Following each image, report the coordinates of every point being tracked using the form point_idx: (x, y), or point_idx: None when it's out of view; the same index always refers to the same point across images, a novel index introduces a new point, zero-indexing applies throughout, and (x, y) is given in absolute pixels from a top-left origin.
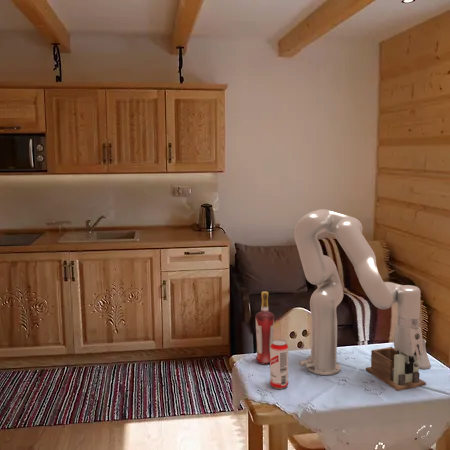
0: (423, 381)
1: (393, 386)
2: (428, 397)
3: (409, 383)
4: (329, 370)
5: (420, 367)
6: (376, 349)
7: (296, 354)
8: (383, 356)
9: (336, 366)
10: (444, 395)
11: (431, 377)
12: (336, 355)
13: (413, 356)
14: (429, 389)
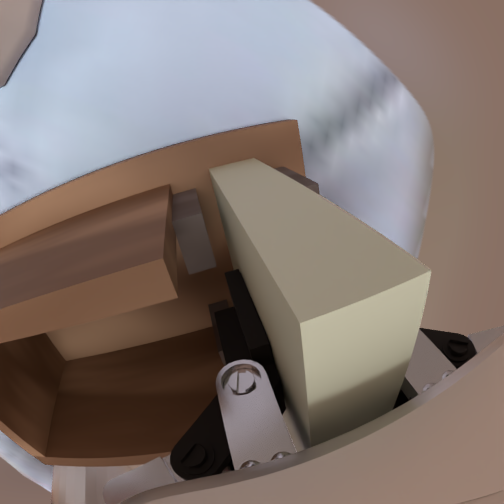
0: (278, 127)
1: None
2: (408, 195)
3: None
4: (131, 469)
5: (21, 45)
6: (18, 444)
7: (23, 464)
8: (145, 460)
9: None
10: (412, 102)
11: (172, 13)
12: (96, 494)
13: (434, 376)
14: (345, 132)
